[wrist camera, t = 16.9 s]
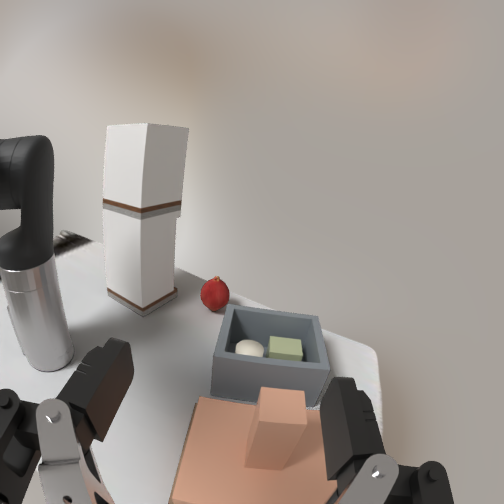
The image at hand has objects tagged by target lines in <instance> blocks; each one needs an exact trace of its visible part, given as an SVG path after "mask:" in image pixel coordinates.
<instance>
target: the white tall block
mask: <svg viewBox="0 0 504 504" xmlns="http://www.w3.org/2000/svg"><path fill="white" fill-rule="evenodd" d="M188 133H189V128H183V127H176V126H168V125H159V124H149V123H147V124H146V123H144V124H124V125H110V126H107V134H106V146H105V158H104V159H105V160H104V179H103V236H104V257H105V270H106V281H107V291H108V296H110V297H111V298H113V299H114V300H116V301H118V302H119V303H121V304H122V305H124V306H126V307H127V308H129V309H131V310H132V311H134V312H136V313H137V314H139V315H141V316H143V317H144V316H145V315H147V314H149V313H150V312H152V311H154V310H155V309H157V308H159V307H160V306H162V305H164V304H165V303H167V302H169V301H170V300H172V299H174V298H175V297H177V288H175V287H174V259H175V235H176V218H179V217H180V214H181V201H182V189H183V178H184V168H185V158H186V150H187V141H188Z"/></svg>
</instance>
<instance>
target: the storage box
mask: <svg viewBox="0 0 504 504" xmlns="http://www.w3.org/2000/svg"><path fill="white" fill-rule="evenodd" d="M329 372H330V365H329V361H328V356H327V352H326V348H325V343H324V339H323V335H322V331H321V327H320V323H319V318H318V316H313V315H304V314H297V313H289V312H281V311H274V310H267V309H260V308H253V307H247V306H240V305H234V304H227V308H226V311H225V315H224V318H223V322H222V326H221V329H220V333H219V337H218V341H217V344H216V348H215V352H214V355H213V367H212V381H211V395H212V396H218V397H224V398H230V399H236V400H243V401H251V402H257V401H258V397H259V393H260V389H261V387H268V388H277V389H288V390H299V391H304V393H305V404H306V407H314V405H315V403H316V401H317V399H318V397H319V395H320V393H321V390H322V388H323V386H324V384H325V382H326V379H327V377H328V375H329Z"/></svg>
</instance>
